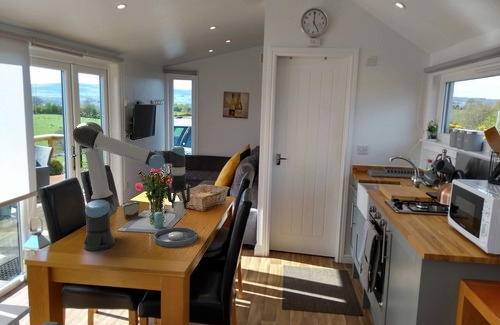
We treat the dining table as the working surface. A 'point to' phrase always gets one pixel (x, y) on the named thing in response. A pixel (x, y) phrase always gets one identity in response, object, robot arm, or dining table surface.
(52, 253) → the dining table surface
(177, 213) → the cream bead
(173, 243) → the groove tray
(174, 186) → the robot arm
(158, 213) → the teal green block
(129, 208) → the food container
